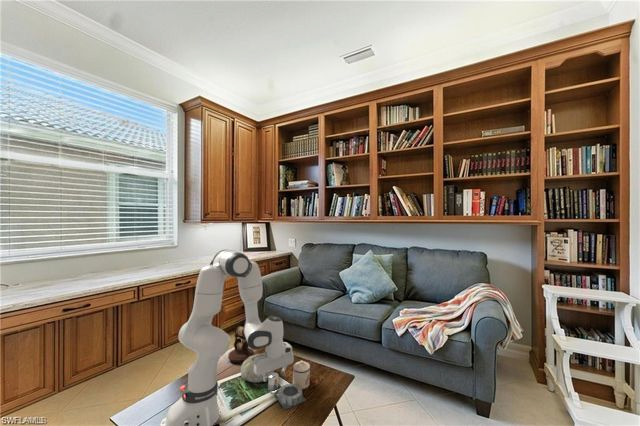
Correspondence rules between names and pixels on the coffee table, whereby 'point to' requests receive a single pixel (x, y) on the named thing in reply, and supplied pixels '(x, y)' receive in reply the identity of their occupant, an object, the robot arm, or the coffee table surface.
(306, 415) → the coffee table surface
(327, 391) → the coffee table surface
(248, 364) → the decorative shell
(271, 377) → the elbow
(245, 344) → the carved wooden figurine
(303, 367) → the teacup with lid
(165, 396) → the coffee table surface
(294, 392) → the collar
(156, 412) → the coffee table surface
